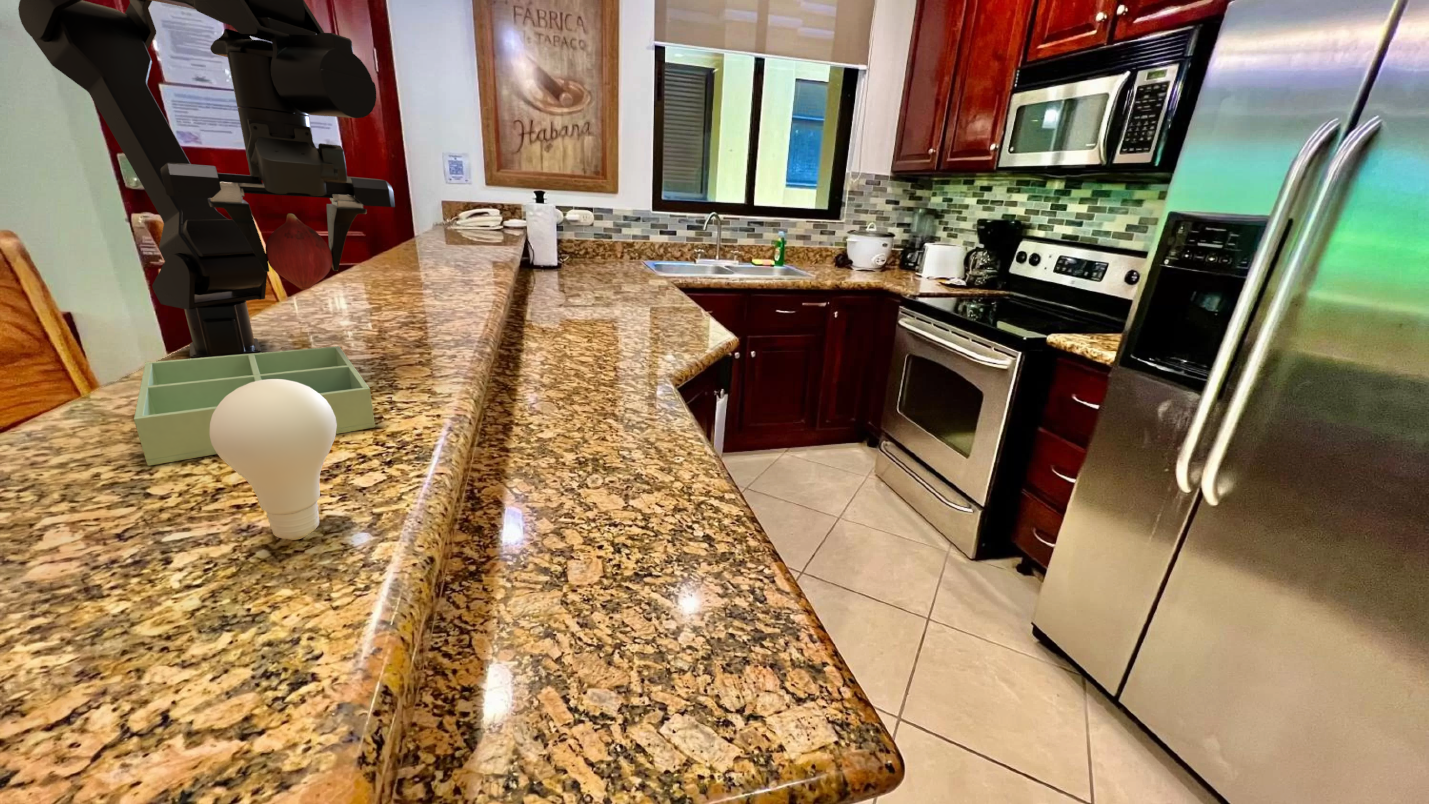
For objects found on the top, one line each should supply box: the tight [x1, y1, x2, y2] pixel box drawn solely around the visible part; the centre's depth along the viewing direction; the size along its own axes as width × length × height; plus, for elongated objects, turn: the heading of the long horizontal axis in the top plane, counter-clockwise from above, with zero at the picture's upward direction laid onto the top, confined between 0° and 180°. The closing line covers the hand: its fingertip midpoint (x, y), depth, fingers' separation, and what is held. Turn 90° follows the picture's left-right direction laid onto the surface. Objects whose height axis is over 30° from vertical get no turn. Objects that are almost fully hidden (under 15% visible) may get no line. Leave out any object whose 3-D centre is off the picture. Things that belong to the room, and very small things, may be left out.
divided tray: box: [133, 345, 376, 467], centre depth 52 cm, size 16×16×4 cm
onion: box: [264, 213, 333, 290], centre depth 60 cm, size 6×6×8 cm
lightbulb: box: [210, 379, 337, 541], centre depth 35 cm, size 6×6×11 cm
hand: (301, 270), depth 60 cm, fingers closed on onion, 6 cm apart
